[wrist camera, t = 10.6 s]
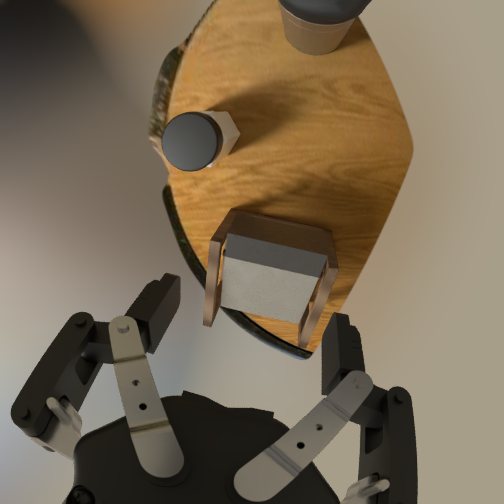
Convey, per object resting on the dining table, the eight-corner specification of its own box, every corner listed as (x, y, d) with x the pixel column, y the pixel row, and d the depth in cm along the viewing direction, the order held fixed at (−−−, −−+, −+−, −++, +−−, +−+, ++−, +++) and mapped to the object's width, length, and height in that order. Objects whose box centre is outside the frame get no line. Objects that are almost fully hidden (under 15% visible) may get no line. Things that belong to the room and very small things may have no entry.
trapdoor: (231, 211, 39) (221, 231, 35) (332, 234, 38) (333, 257, 35) (223, 293, 50) (215, 314, 47) (301, 311, 50) (299, 333, 46)
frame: (231, 208, 50) (210, 240, 39) (331, 230, 49) (338, 269, 38) (221, 283, 59) (202, 325, 48) (306, 302, 58) (305, 348, 47)
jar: (241, 110, 41) (221, 110, 31) (240, 157, 45) (221, 172, 35) (189, 111, 43) (157, 114, 32) (190, 156, 47) (159, 171, 36)
